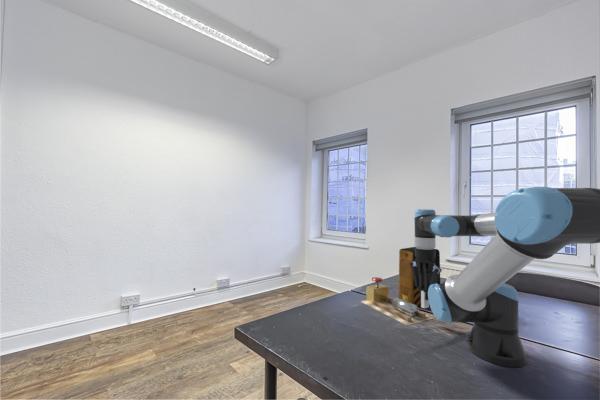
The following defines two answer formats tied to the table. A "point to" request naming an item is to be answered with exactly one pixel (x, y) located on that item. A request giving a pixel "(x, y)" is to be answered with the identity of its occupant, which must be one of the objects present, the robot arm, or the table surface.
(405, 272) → the black and orange box
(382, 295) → the valve
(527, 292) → the table surface
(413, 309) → the silver metal cylinder
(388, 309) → the board
